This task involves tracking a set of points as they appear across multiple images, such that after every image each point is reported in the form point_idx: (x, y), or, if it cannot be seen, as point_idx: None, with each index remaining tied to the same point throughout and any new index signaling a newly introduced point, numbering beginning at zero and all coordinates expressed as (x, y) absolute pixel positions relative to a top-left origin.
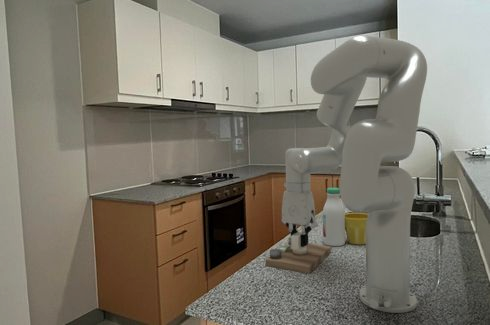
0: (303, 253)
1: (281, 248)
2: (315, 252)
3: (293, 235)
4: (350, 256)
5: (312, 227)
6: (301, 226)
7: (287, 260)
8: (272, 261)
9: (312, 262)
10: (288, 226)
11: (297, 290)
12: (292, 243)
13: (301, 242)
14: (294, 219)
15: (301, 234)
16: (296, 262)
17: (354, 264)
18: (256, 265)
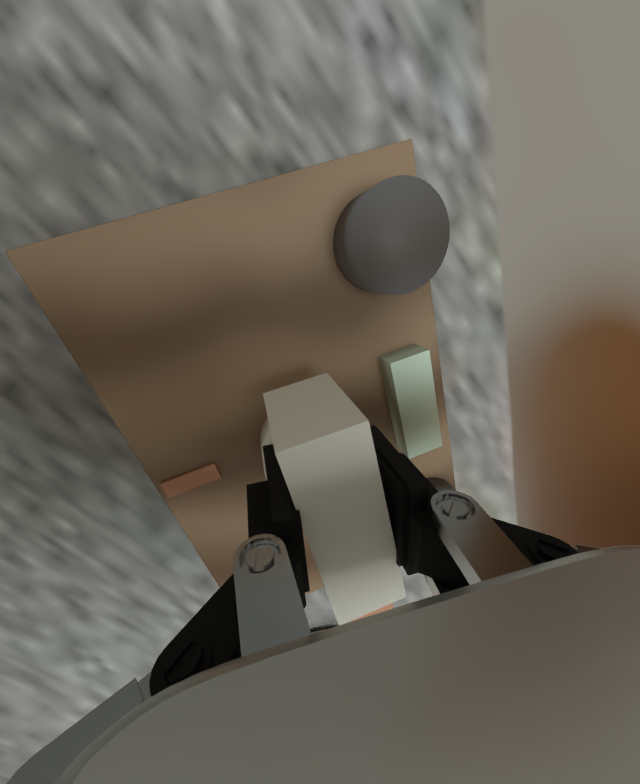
0: (262, 431)
1: (421, 366)
2: (236, 508)
3: (359, 456)
4: (128, 626)
5: (100, 730)
6: (304, 632)
7: (263, 250)
8: (348, 157)
9: (84, 356)
10: (515, 539)
11: None
12: (327, 393)
13: (272, 463)
14: (481, 729)
15: (284, 523)
16: (175, 264)
17: (6, 577)
18: (443, 115)
